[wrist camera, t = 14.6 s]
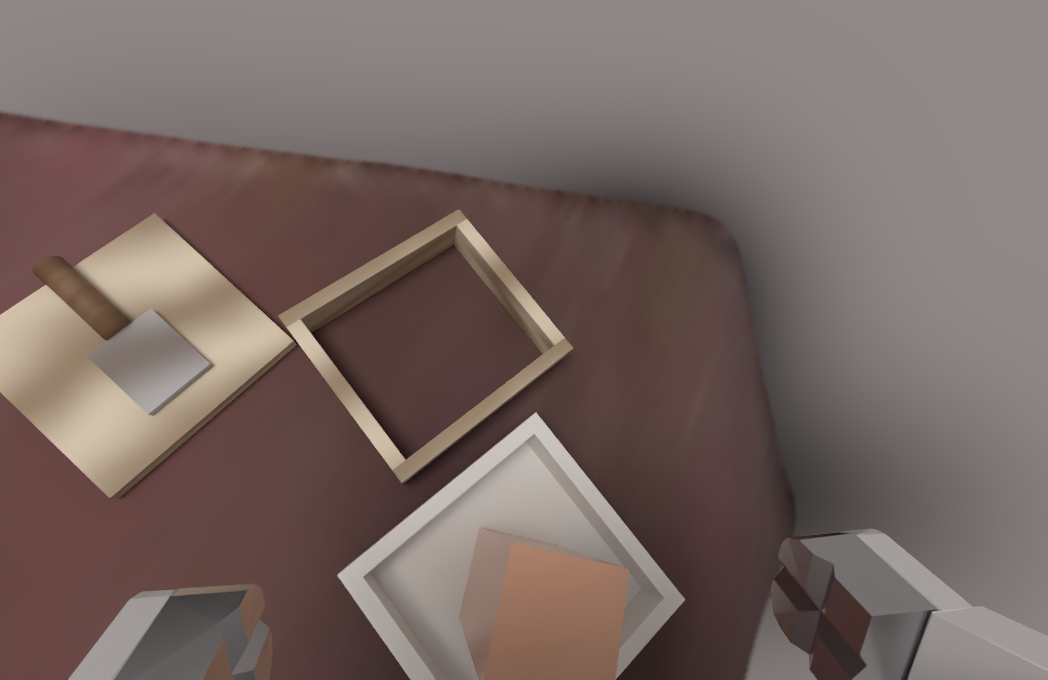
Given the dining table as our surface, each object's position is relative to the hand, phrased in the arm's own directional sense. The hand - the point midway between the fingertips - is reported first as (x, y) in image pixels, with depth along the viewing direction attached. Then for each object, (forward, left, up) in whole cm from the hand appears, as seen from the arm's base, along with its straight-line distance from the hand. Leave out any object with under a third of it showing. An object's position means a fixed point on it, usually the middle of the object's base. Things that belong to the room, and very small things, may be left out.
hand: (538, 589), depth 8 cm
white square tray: (-4, -1, -21) cm, 21 cm away
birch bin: (+9, -5, -21) cm, 23 cm away
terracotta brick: (-4, -1, -20) cm, 20 cm away
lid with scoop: (+18, +7, -21) cm, 28 cm away
